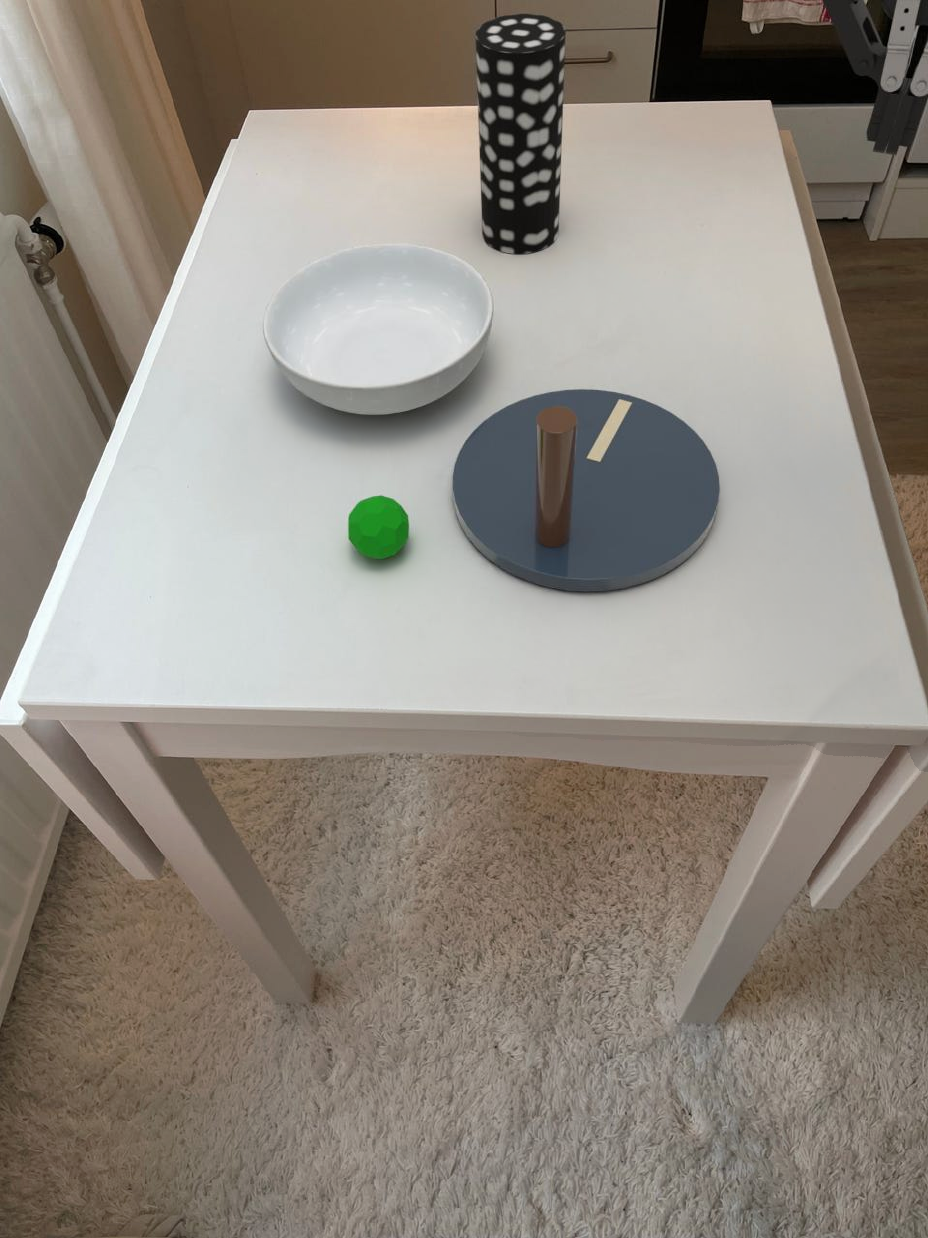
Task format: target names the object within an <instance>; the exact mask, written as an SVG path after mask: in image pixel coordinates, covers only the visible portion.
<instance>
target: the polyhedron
mask: <svg viewBox="0 0 928 1238" xmlns="http://www.w3.org/2000/svg"><path fill="white" fill-rule="evenodd" d="M347 520H348V521H347V522H348V523H347V524H348V527H347V528H348V529H347V532H348V534H347V535H348V541H349V542H350V543H351V544H352V546H353V547H354V548H355V550H357V551H358V552H359V553H360V554H361V556H364V557H368V558H370V559H374V560H379V559H380V560H381V559H386V558H389V557H393V556H395V555H397V553H398V552H400V550H401V549H402V547H403V546H404V545H405V543H406V542H407V540H408V539H409V537H410V535H409V533H410V522H409V514H408V513H407V512H406V510H405V509H404V507H403V506H402V505H401V504H400V503H399V502H397V500H395V499H394V498H391V497H388V496H385V495H382V494H381V495H374V496H370V497H367V498H364V499H362V500H361V499H360V501H359V502H358V503H357V504H356V505H355V506H354V507H353V509H352V510H351V511H350V512H349V514H348V519H347Z"/></svg>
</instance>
